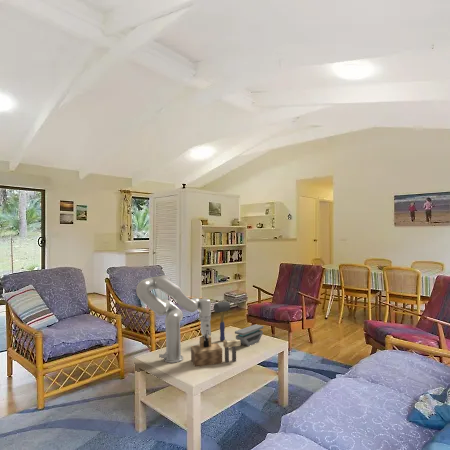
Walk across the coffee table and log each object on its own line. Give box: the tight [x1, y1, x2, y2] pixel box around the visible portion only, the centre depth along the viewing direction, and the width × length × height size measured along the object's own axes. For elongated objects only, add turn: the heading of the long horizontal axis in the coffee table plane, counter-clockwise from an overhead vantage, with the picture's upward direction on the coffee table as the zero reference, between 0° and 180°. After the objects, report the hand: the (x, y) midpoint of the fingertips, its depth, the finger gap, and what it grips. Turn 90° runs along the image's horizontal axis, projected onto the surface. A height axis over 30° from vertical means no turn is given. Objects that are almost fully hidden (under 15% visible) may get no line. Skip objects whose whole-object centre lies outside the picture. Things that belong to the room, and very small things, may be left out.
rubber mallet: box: [213, 301, 231, 342], centre depth 264 cm, size 12×8×30 cm, turn 131°
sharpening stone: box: [234, 324, 265, 347], centre depth 257 cm, size 25×8×11 cm, turn 137°
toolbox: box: [190, 346, 237, 368], centre depth 223 cm, size 28×12×10 cm, turn 107°
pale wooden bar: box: [222, 339, 242, 349], centre depth 222 cm, size 11×3×4 cm, turn 107°
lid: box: [190, 336, 223, 354], centre depth 222 cm, size 18×12×8 cm, turn 107°
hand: (205, 345), depth 224 cm, fingers closed on lid, 3 cm apart
